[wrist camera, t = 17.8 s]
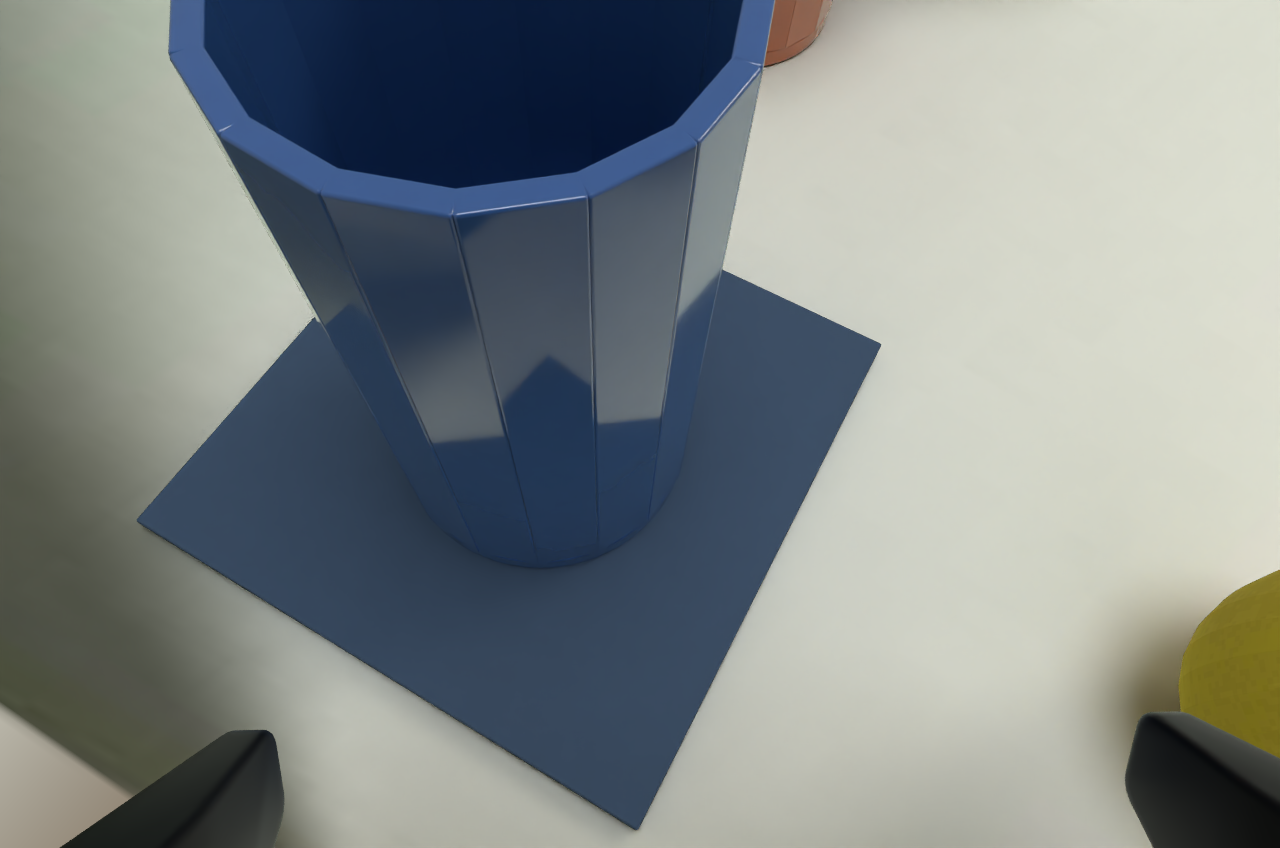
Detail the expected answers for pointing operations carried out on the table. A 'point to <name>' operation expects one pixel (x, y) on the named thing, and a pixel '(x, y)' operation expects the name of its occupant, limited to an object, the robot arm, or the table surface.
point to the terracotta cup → (794, 27)
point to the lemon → (1238, 666)
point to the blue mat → (520, 596)
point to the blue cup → (498, 231)
